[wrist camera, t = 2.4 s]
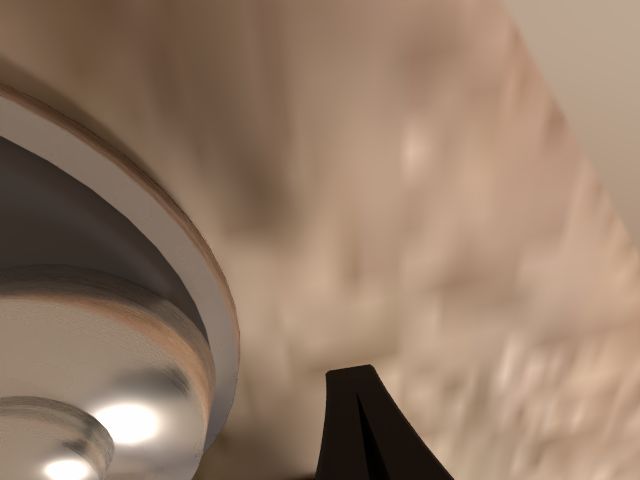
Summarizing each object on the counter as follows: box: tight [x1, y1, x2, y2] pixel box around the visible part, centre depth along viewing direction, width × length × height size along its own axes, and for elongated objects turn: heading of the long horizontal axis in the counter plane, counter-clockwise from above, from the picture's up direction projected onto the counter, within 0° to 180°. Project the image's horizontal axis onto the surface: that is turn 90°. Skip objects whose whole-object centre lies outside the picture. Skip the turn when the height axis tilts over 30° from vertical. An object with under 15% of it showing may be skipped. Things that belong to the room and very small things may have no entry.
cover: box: [0, 264, 216, 480], centre depth 10 cm, size 9×9×4 cm
